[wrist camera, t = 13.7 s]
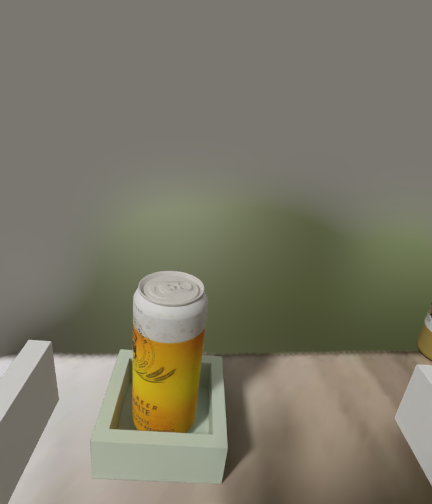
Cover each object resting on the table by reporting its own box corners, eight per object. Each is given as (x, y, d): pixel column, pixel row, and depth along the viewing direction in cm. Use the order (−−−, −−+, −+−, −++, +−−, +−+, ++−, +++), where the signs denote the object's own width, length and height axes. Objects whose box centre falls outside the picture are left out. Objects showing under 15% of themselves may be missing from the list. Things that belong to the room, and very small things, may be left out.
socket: (217, 387, 41) (222, 356, 39) (221, 483, 31) (227, 448, 29) (120, 381, 40) (120, 349, 38) (91, 478, 30) (89, 441, 28)
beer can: (125, 403, 36) (125, 273, 30) (182, 388, 39) (193, 265, 33) (141, 456, 31) (144, 312, 25) (204, 435, 34) (221, 299, 28)
